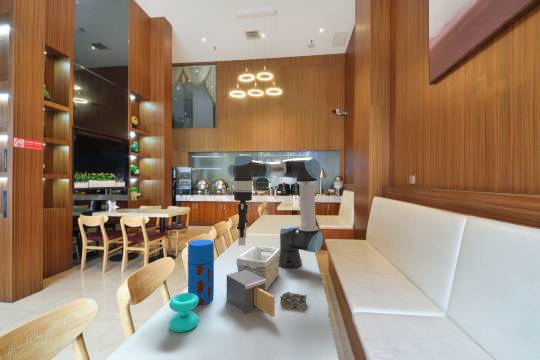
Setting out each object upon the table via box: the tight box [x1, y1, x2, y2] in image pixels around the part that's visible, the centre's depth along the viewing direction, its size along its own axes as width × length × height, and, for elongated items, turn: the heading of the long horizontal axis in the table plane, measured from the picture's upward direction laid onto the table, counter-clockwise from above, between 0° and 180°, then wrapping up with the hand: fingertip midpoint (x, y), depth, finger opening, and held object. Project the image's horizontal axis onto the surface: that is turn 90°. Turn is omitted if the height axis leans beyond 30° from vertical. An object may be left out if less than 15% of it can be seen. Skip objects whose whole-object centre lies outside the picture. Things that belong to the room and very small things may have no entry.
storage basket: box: [236, 245, 280, 291], centre depth 130 cm, size 24×16×15 cm
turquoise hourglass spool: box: [168, 292, 200, 333], centre depth 91 cm, size 10×10×10 cm
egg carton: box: [279, 291, 308, 310], centre depth 106 cm, size 11×8×4 cm
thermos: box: [187, 239, 215, 307], centre depth 110 cm, size 11×11×25 cm
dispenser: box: [226, 270, 267, 315], centre depth 106 cm, size 15×10×11 cm, turn 40°
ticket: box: [253, 286, 276, 318], centre depth 102 cm, size 22×1×7 cm, turn 40°
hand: (242, 241), depth 107 cm, fingers open, 13 cm apart
